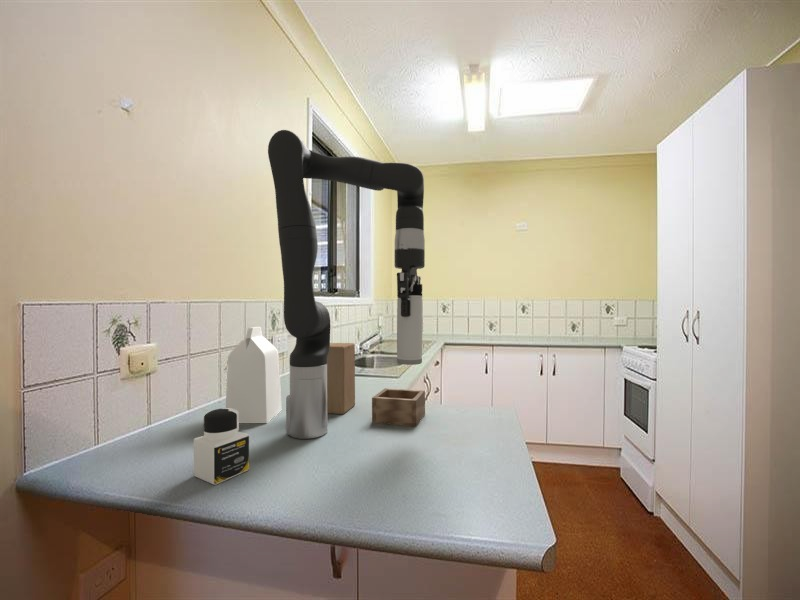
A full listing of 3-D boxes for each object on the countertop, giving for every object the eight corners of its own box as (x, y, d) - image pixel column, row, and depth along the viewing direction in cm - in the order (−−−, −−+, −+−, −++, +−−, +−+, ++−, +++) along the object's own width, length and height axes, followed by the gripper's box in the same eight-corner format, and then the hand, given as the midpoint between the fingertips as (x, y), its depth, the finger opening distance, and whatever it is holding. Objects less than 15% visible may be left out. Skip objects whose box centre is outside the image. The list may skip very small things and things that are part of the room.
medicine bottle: (214, 486, 65) (214, 418, 65) (192, 476, 68) (192, 412, 69) (249, 470, 71) (249, 408, 71) (228, 462, 74) (227, 403, 75)
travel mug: (426, 361, 92) (426, 283, 92) (415, 365, 86) (416, 281, 86) (403, 360, 94) (404, 283, 95) (392, 363, 88) (393, 281, 89)
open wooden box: (372, 422, 99) (371, 397, 99) (384, 410, 110) (384, 388, 110) (416, 426, 95) (416, 400, 96) (425, 413, 106) (424, 390, 106)
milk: (266, 423, 99) (266, 328, 99) (224, 423, 99) (224, 328, 99) (281, 410, 111) (281, 325, 111) (244, 411, 111) (244, 326, 111)
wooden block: (355, 405, 116) (355, 343, 116) (343, 414, 106) (343, 346, 107) (326, 403, 118) (326, 342, 119) (312, 412, 109) (312, 345, 109)
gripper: (403, 253, 98) (402, 315, 98) (386, 245, 85) (385, 316, 84) (430, 252, 96) (430, 315, 96) (417, 243, 82) (417, 317, 82)
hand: (409, 315), depth 90 cm, fingers closed on travel mug, 6 cm apart
